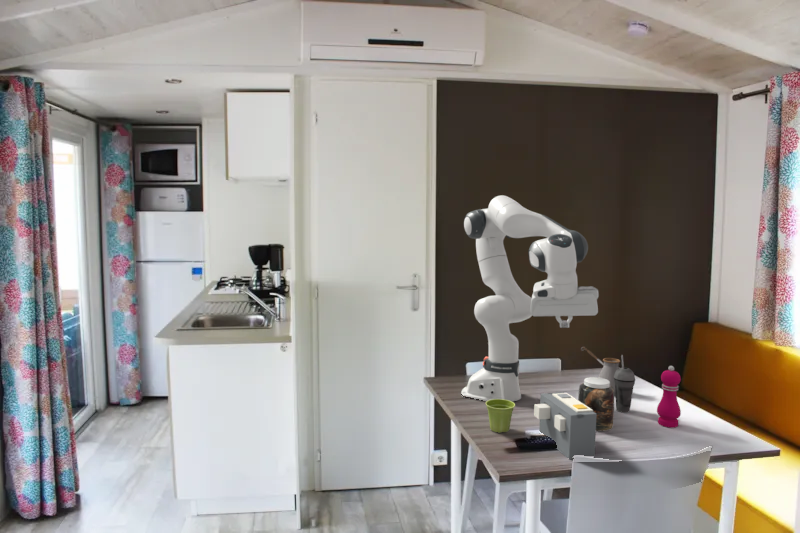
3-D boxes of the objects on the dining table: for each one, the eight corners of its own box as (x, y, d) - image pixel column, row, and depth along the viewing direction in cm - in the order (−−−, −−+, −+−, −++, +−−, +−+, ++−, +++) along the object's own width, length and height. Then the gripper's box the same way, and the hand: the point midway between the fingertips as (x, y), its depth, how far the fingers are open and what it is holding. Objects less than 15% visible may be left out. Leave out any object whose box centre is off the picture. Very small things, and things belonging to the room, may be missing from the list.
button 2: (559, 431, 174) (560, 419, 174) (554, 426, 178) (554, 415, 177) (575, 430, 175) (576, 418, 175) (569, 425, 179) (570, 414, 178)
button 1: (538, 419, 183) (539, 408, 183) (533, 415, 187) (534, 404, 186) (554, 418, 184) (554, 407, 184) (548, 414, 188) (549, 403, 187)
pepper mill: (669, 429, 196) (673, 369, 194) (651, 422, 202) (654, 364, 200) (684, 426, 199) (688, 367, 197) (666, 419, 205) (669, 362, 203)
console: (569, 459, 172) (570, 413, 171) (539, 433, 191) (540, 391, 190) (594, 457, 174) (596, 411, 172) (562, 431, 193) (564, 390, 192)
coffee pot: (632, 394, 232) (634, 356, 230) (610, 398, 227) (612, 359, 225) (590, 379, 251) (592, 344, 249) (570, 383, 245) (571, 347, 244)
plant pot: (507, 437, 188) (508, 410, 187) (480, 431, 193) (480, 404, 192) (518, 428, 196) (519, 402, 195) (491, 422, 201) (492, 397, 200)
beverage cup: (635, 414, 209) (638, 358, 207) (613, 413, 211) (616, 357, 209) (631, 407, 216) (634, 353, 214) (610, 406, 218) (613, 352, 216)
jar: (569, 420, 203) (571, 377, 201) (596, 416, 207) (598, 374, 206) (593, 433, 192) (595, 387, 190) (621, 428, 197) (623, 383, 195)
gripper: (598, 281, 183) (599, 321, 188) (529, 283, 189) (532, 322, 194) (598, 290, 177) (600, 331, 183) (528, 292, 183) (531, 332, 188)
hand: (564, 326), depth 188 cm, fingers closed
